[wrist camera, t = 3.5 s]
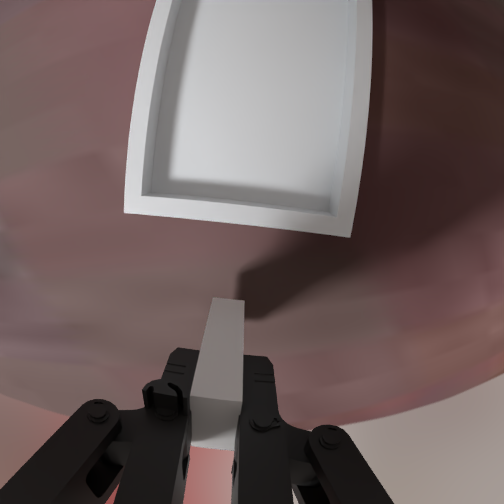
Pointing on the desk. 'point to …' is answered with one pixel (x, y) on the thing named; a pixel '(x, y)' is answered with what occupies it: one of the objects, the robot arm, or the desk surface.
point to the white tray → (252, 113)
